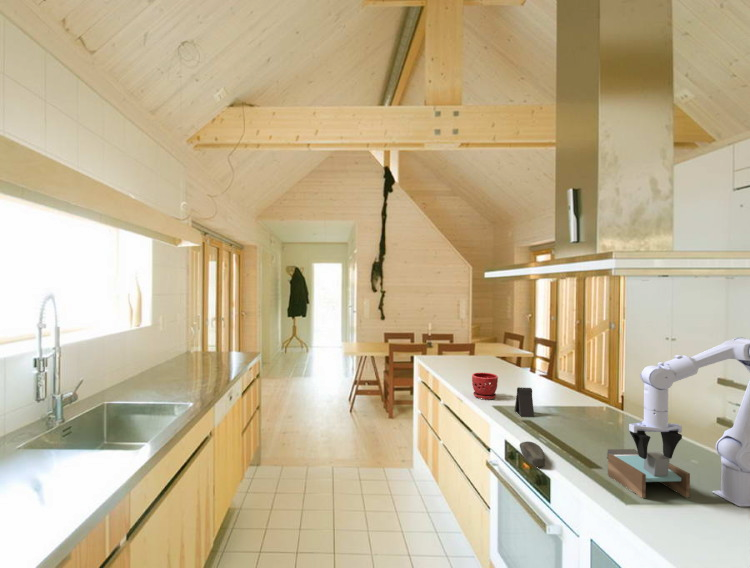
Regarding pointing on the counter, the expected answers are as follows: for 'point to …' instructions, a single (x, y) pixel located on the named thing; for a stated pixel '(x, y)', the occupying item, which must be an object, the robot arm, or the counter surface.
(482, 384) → the plant pot
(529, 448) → the decorative stone
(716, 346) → the robot arm
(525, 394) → the phone stand
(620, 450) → the trapdoor flap
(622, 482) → the stand
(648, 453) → the slate block
